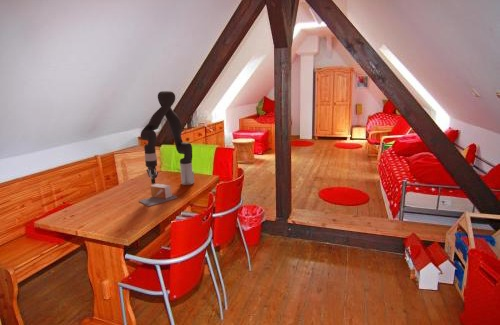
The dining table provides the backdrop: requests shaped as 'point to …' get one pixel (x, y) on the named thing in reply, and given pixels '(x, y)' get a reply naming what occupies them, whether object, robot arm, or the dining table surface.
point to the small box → (161, 191)
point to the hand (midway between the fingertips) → (153, 183)
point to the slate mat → (156, 200)
